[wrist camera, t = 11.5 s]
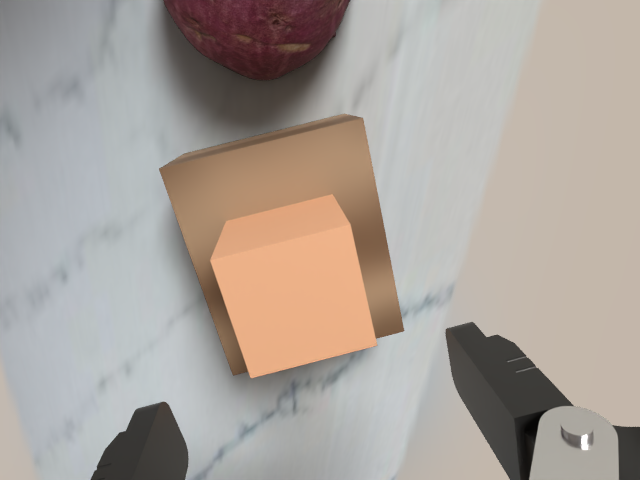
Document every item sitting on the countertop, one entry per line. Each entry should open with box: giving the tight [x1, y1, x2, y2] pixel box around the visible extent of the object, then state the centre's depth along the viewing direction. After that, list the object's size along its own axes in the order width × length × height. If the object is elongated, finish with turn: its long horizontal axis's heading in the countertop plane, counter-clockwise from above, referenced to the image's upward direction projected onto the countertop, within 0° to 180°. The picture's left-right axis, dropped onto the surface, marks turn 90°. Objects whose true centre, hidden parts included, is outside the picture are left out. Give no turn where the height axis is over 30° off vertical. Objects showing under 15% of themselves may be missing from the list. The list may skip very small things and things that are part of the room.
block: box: [210, 194, 377, 378], centre depth 20 cm, size 6×6×6 cm
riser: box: [159, 114, 404, 375], centre depth 25 cm, size 12×10×6 cm
